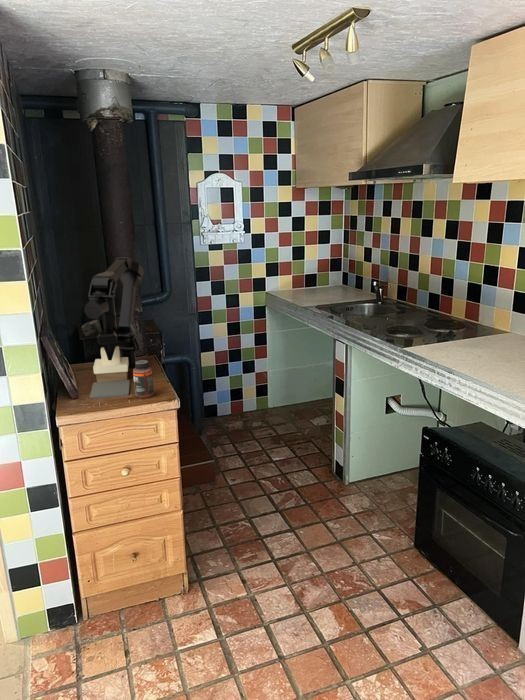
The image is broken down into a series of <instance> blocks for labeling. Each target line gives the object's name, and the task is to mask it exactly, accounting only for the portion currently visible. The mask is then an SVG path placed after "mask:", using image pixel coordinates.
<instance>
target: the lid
mask: <svg viewBox="0 0 525 700" xmlns="http://www.w3.org/2000/svg"><path fill="white" fill-rule="evenodd" d="M100 357H101V358H95V360H94V364H93V366H92V369H93V375H96V374H101V373H114V372H129V367H128V365H129V362H128V357H122V358H120V351H119V346H117V347H115V351H114V354H113V357H112V360H108V358H107V355H106V352H105V349H104V347H103V346H101V347H100Z"/></svg>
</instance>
